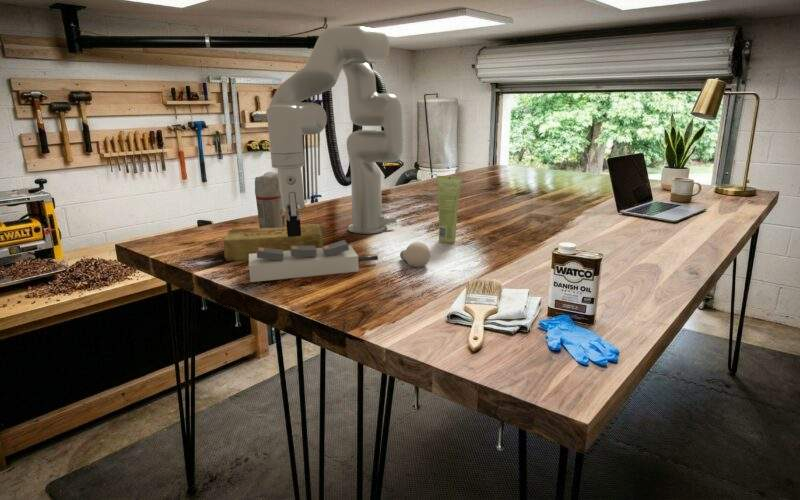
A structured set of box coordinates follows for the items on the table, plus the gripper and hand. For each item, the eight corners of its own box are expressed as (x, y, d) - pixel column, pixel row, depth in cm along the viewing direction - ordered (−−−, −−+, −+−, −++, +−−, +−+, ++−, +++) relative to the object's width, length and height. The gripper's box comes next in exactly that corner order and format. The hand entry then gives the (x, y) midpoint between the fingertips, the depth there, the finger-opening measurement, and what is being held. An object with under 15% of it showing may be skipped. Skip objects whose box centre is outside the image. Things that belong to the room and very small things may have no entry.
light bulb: (392, 242, 134) (413, 240, 125) (414, 243, 137) (436, 241, 128) (391, 267, 134) (412, 267, 124) (413, 267, 137) (435, 268, 127)
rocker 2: (314, 251, 127) (314, 245, 127) (316, 256, 124) (316, 249, 123) (290, 251, 126) (290, 245, 125) (291, 256, 122) (291, 249, 122)
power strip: (373, 257, 137) (372, 242, 136) (382, 269, 128) (381, 253, 127) (250, 268, 129) (248, 253, 128) (250, 282, 120) (248, 265, 118)
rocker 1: (281, 255, 125) (282, 249, 125) (282, 260, 122) (283, 254, 121) (256, 253, 124) (257, 246, 123) (256, 258, 120) (257, 251, 120)
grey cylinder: (280, 241, 154) (274, 175, 148) (255, 239, 155) (248, 174, 149) (291, 233, 161) (286, 171, 156) (267, 232, 163) (261, 170, 157)
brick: (229, 253, 147) (226, 229, 145) (321, 245, 152) (319, 222, 151) (224, 264, 134) (221, 238, 132) (324, 255, 140) (323, 230, 138)
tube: (451, 237, 155) (453, 174, 150) (460, 241, 151) (462, 176, 145) (435, 240, 153) (436, 175, 147) (444, 244, 149) (445, 178, 143)
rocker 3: (346, 245, 129) (344, 239, 129) (349, 249, 126) (347, 243, 125) (323, 252, 128) (321, 246, 128) (325, 256, 125) (323, 250, 124)
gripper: (307, 163, 112) (313, 242, 118) (301, 154, 125) (306, 226, 131) (272, 165, 110) (280, 246, 116) (270, 156, 124) (277, 229, 129)
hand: (294, 235), depth 123 cm, fingers closed
